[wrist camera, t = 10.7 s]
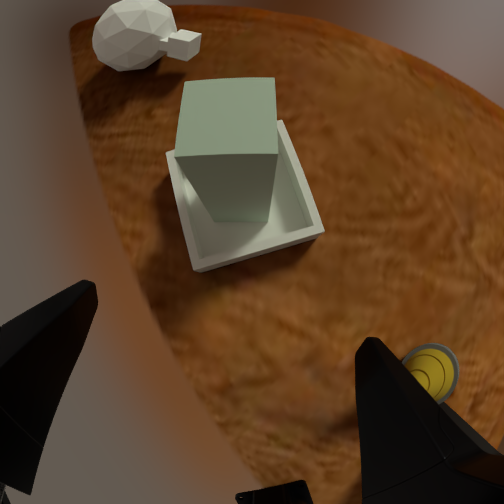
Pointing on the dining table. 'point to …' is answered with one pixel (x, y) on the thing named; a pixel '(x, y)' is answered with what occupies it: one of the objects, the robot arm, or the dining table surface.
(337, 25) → the dining table surface
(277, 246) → the tray
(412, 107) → the dining table surface
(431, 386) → the drill bit
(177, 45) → the perfume bottle
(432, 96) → the dining table surface
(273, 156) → the block
